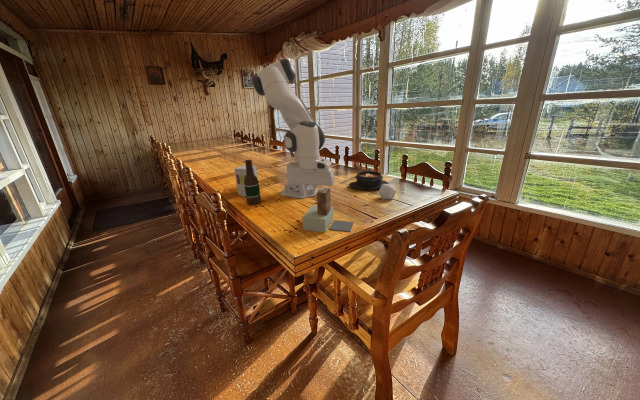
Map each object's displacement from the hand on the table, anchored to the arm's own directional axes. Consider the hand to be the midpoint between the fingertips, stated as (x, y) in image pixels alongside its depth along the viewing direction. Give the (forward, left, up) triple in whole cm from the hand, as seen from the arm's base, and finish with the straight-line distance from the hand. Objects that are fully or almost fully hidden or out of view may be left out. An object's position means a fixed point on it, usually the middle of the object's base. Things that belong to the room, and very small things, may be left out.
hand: (311, 194), depth 111 cm
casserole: (+19, +57, -14) cm, 62 cm away
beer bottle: (-40, +18, -14) cm, 46 cm away
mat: (+13, 0, -14) cm, 19 cm away
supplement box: (-51, +31, -14) cm, 62 cm away
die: (+31, +38, -14) cm, 51 cm away
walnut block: (+6, 0, -8) cm, 10 cm away
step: (+3, 0, -14) cm, 14 cm away
